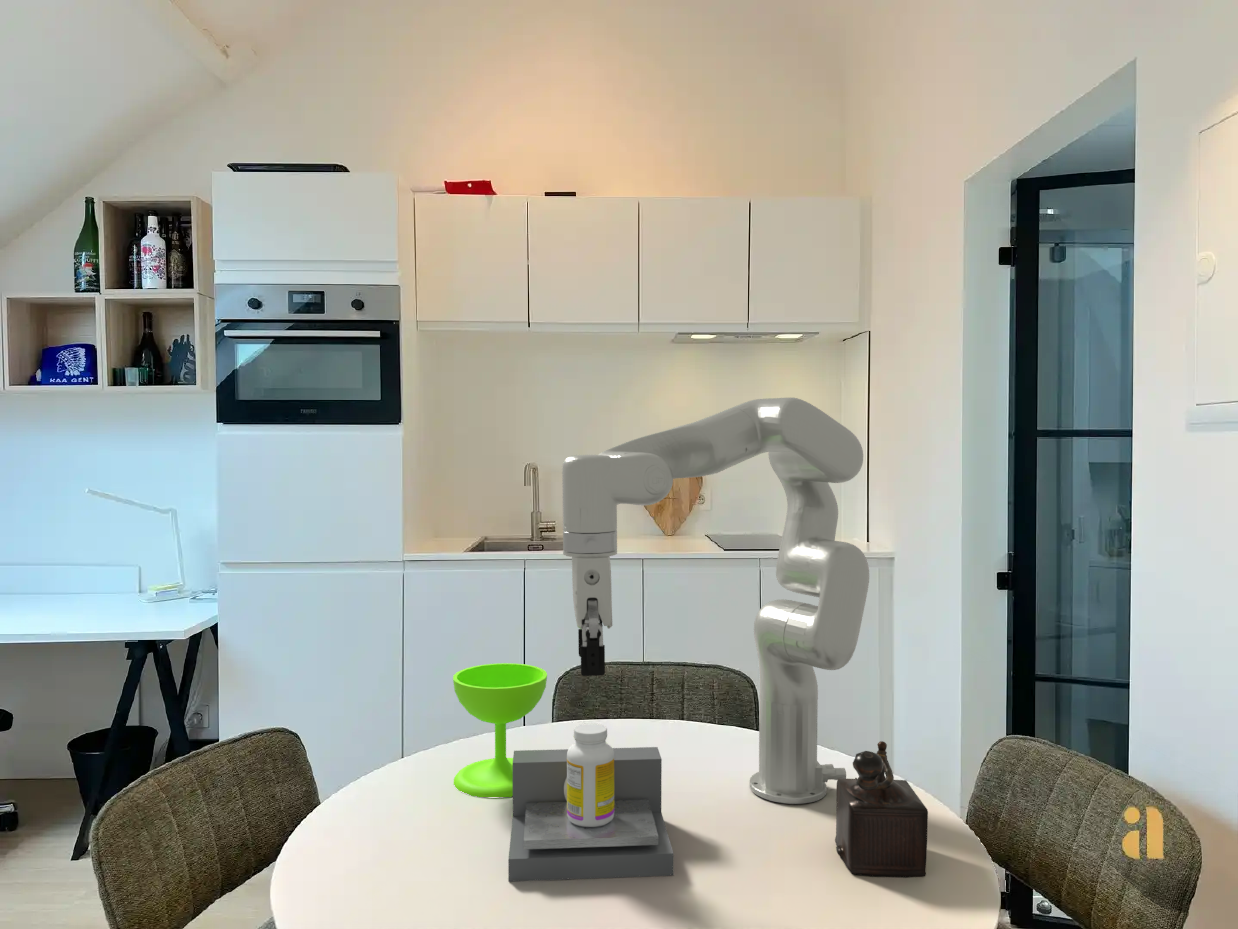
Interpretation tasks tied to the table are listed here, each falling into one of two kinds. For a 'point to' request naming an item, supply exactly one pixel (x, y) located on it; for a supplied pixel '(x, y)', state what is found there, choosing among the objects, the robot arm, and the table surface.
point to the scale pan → (557, 831)
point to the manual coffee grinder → (880, 821)
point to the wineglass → (496, 718)
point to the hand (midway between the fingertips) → (591, 665)
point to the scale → (547, 782)
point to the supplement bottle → (590, 777)
